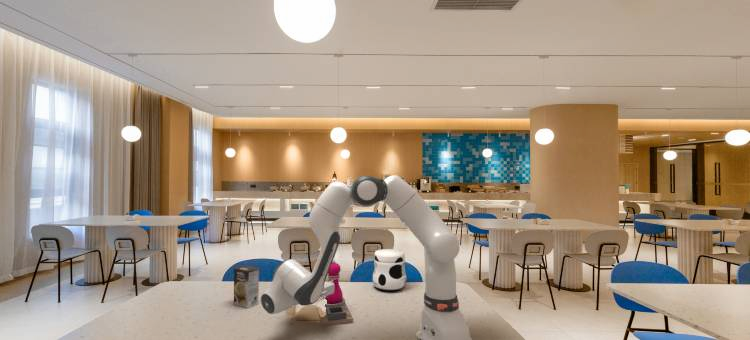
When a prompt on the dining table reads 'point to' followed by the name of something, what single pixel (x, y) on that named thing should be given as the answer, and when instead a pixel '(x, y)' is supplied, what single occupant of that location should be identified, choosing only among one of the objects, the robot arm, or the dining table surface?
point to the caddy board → (336, 314)
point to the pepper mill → (334, 276)
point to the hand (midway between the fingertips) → (322, 280)
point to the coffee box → (246, 286)
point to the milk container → (389, 270)
